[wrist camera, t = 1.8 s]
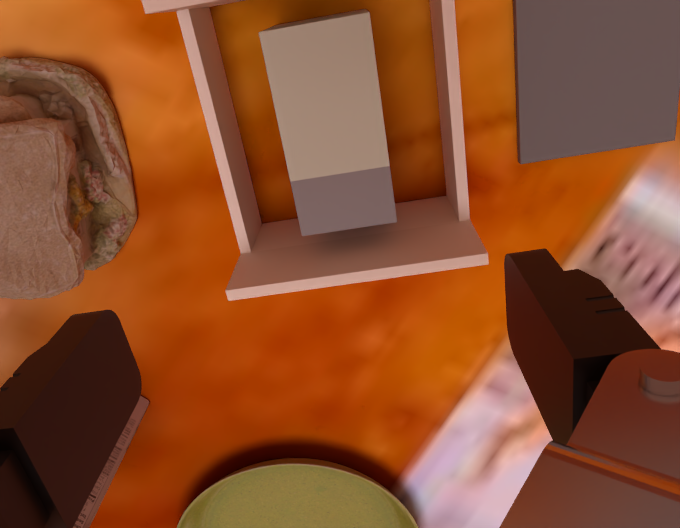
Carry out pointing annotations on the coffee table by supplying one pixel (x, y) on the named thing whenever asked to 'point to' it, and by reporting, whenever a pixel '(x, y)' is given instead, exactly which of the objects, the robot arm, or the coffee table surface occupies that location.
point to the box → (331, 121)
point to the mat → (595, 75)
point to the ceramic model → (58, 178)
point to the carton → (346, 245)
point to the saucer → (296, 499)
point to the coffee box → (111, 466)
